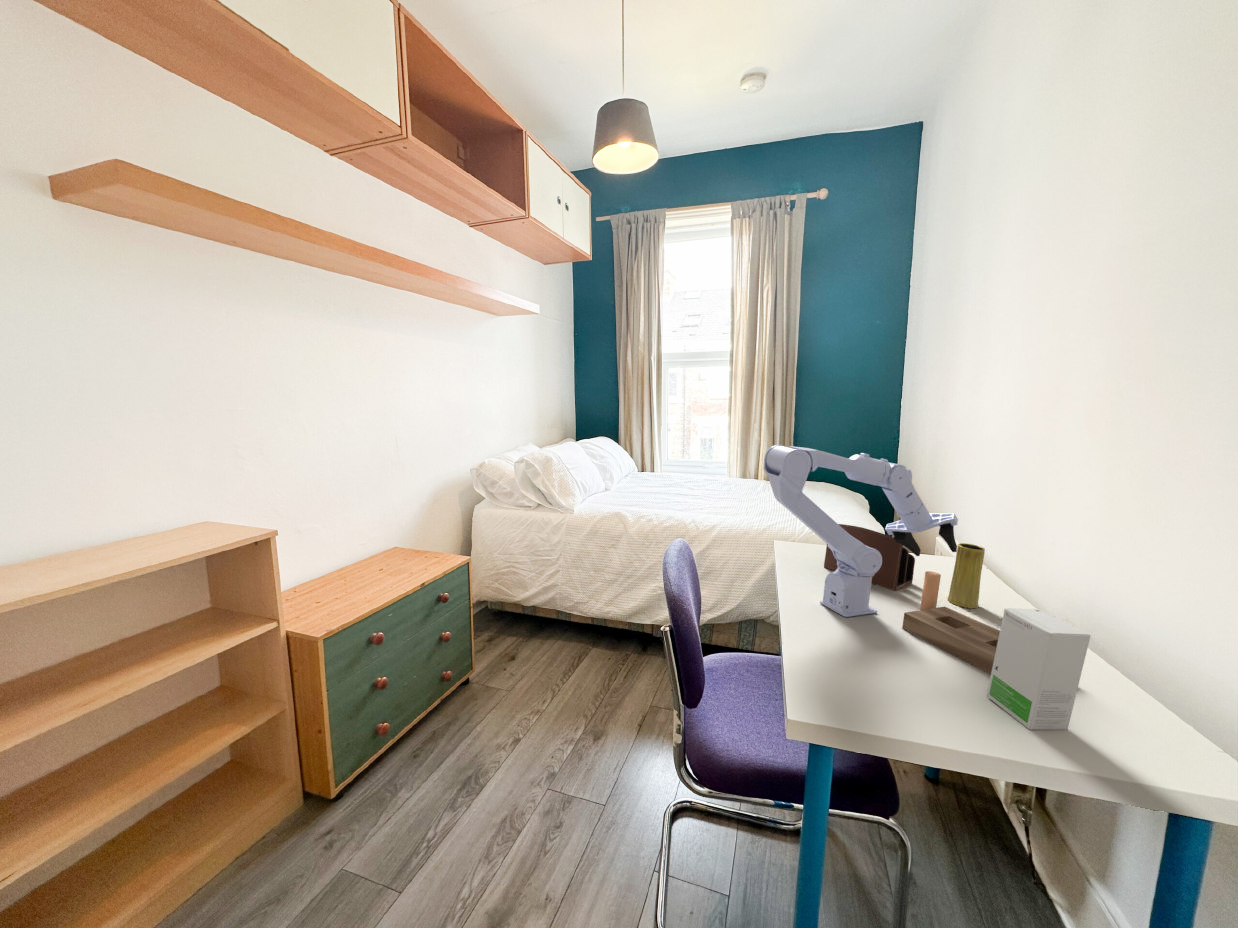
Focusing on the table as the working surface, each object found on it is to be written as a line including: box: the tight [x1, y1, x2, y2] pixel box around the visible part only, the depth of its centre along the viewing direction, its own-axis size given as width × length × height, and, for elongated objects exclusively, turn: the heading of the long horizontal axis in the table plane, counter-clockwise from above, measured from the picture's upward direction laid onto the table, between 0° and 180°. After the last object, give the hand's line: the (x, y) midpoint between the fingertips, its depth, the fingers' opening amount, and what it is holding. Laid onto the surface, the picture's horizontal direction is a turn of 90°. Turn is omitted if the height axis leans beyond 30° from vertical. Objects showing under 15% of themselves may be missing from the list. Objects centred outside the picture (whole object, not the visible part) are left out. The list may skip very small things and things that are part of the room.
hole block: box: [901, 606, 1000, 675], centre depth 94 cm, size 12×22×4 cm, turn 20°
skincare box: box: [986, 607, 1092, 731], centre depth 74 cm, size 8×7×16 cm
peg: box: [919, 571, 942, 610], centre depth 111 cm, size 3×3×9 cm
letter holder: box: [823, 523, 916, 592], centre depth 133 cm, size 10×20×14 cm, turn 36°
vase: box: [947, 542, 986, 609], centre depth 116 cm, size 6×6×14 cm
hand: (936, 551), depth 113 cm, fingers open, 7 cm apart
